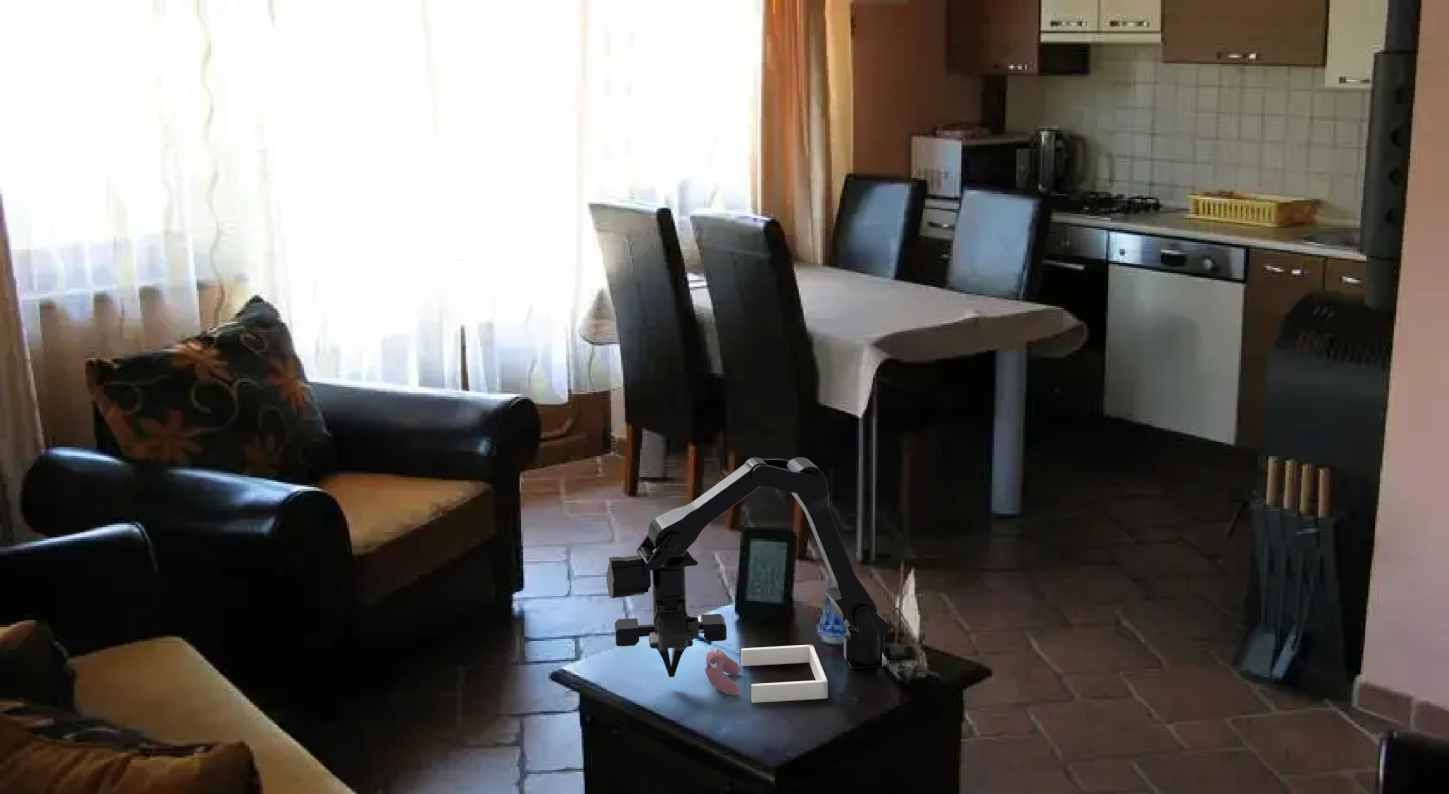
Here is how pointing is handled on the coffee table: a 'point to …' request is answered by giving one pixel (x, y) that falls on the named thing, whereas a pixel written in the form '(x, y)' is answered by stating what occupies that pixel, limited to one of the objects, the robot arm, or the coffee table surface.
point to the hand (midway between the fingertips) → (671, 676)
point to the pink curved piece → (715, 674)
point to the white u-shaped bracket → (786, 689)
